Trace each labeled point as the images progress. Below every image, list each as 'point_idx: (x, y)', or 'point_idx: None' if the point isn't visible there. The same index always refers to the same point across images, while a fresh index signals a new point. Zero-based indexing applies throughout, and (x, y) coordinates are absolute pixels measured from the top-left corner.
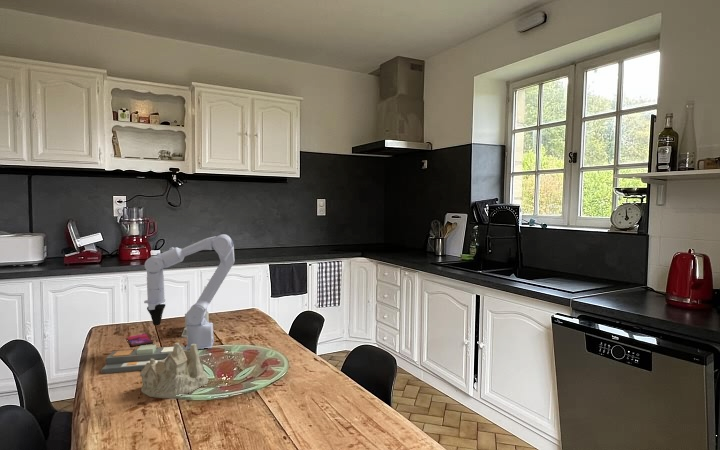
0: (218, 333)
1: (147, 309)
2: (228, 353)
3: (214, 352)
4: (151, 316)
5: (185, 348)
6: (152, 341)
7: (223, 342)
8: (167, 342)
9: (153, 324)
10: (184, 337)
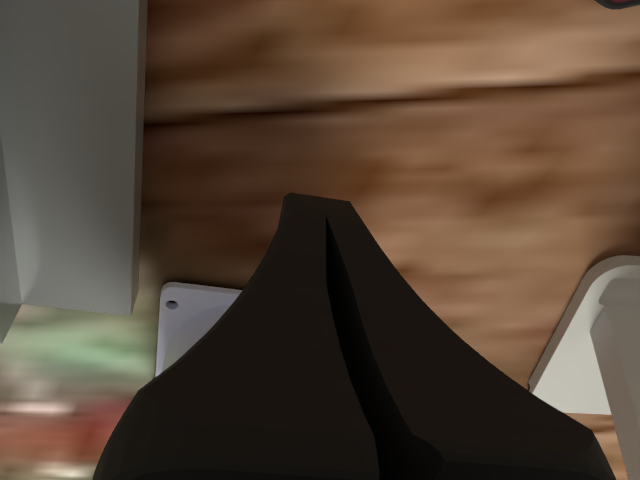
0: None
1: (131, 413)
2: (22, 476)
3: (63, 425)
4: (243, 293)
5: (103, 309)
6: (628, 2)
7: None
8: (522, 148)
9: (285, 200)
10: (585, 274)
